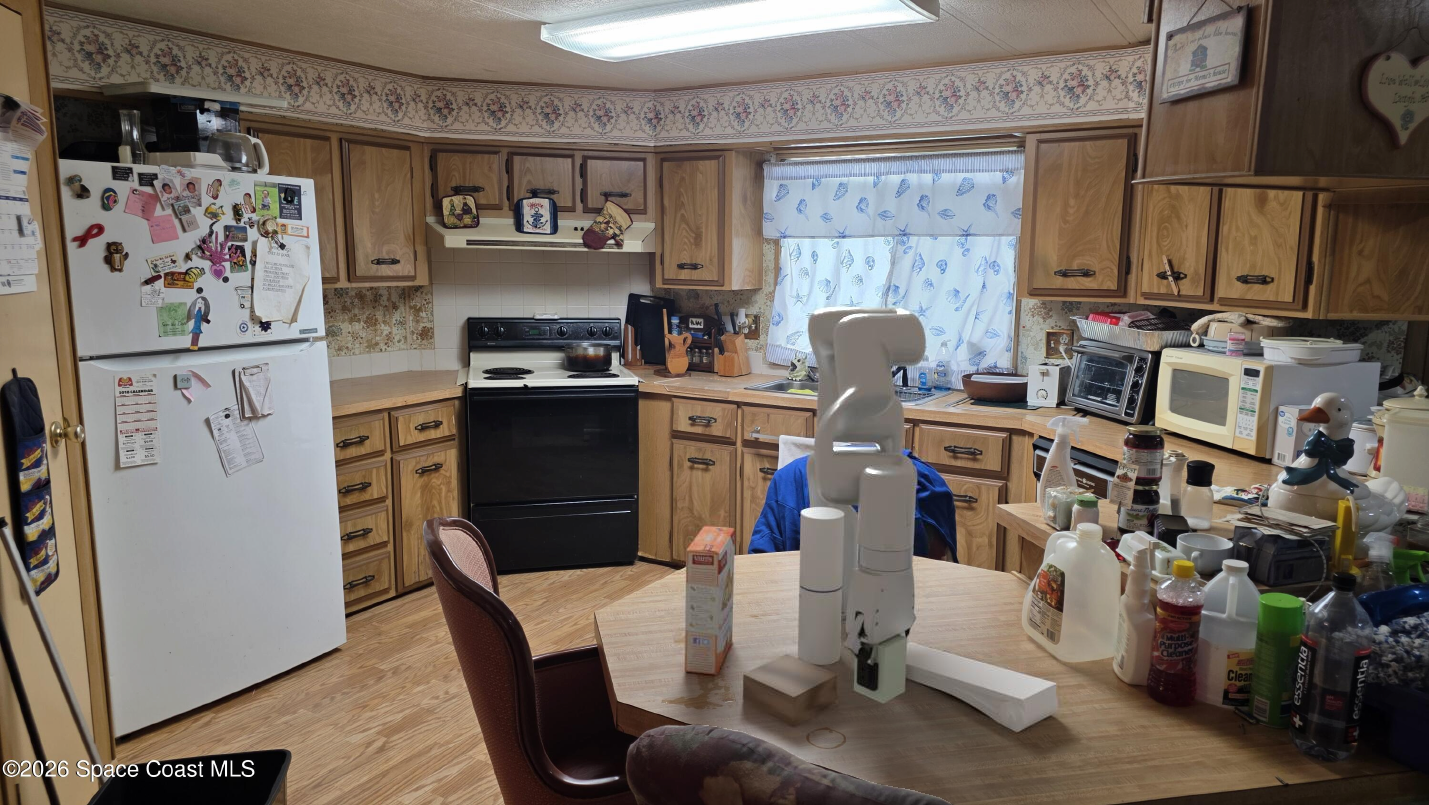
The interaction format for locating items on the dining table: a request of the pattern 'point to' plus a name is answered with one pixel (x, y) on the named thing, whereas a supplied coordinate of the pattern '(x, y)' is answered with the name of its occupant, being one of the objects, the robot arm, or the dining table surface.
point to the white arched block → (984, 686)
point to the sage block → (887, 669)
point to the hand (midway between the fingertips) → (879, 679)
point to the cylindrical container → (820, 585)
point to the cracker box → (709, 599)
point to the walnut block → (789, 690)
